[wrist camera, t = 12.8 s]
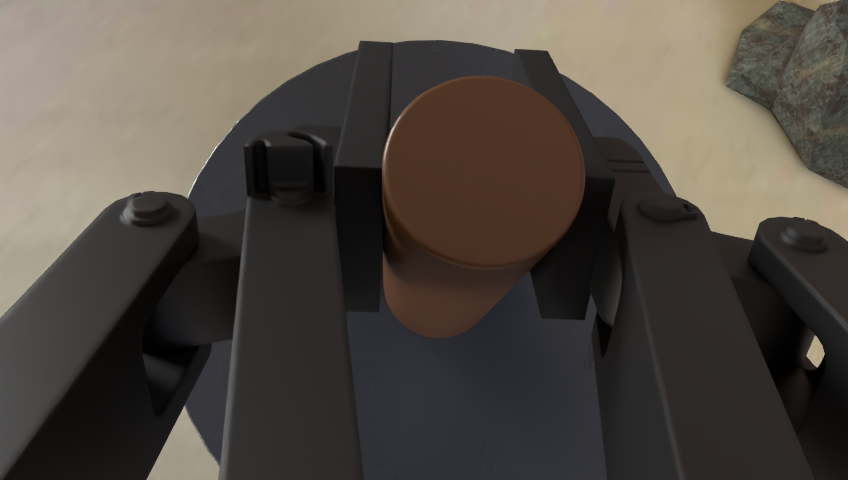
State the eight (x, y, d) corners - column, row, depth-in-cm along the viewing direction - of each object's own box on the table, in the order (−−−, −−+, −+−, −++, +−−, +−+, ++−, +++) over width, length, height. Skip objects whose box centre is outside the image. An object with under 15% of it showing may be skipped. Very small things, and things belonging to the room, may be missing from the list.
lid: (78, 426, 18) (-276, 439, 9) (315, -11, 22) (257, -368, 12) (580, 659, 18) (824, 965, 8) (748, 173, 21) (1070, -42, 11)
